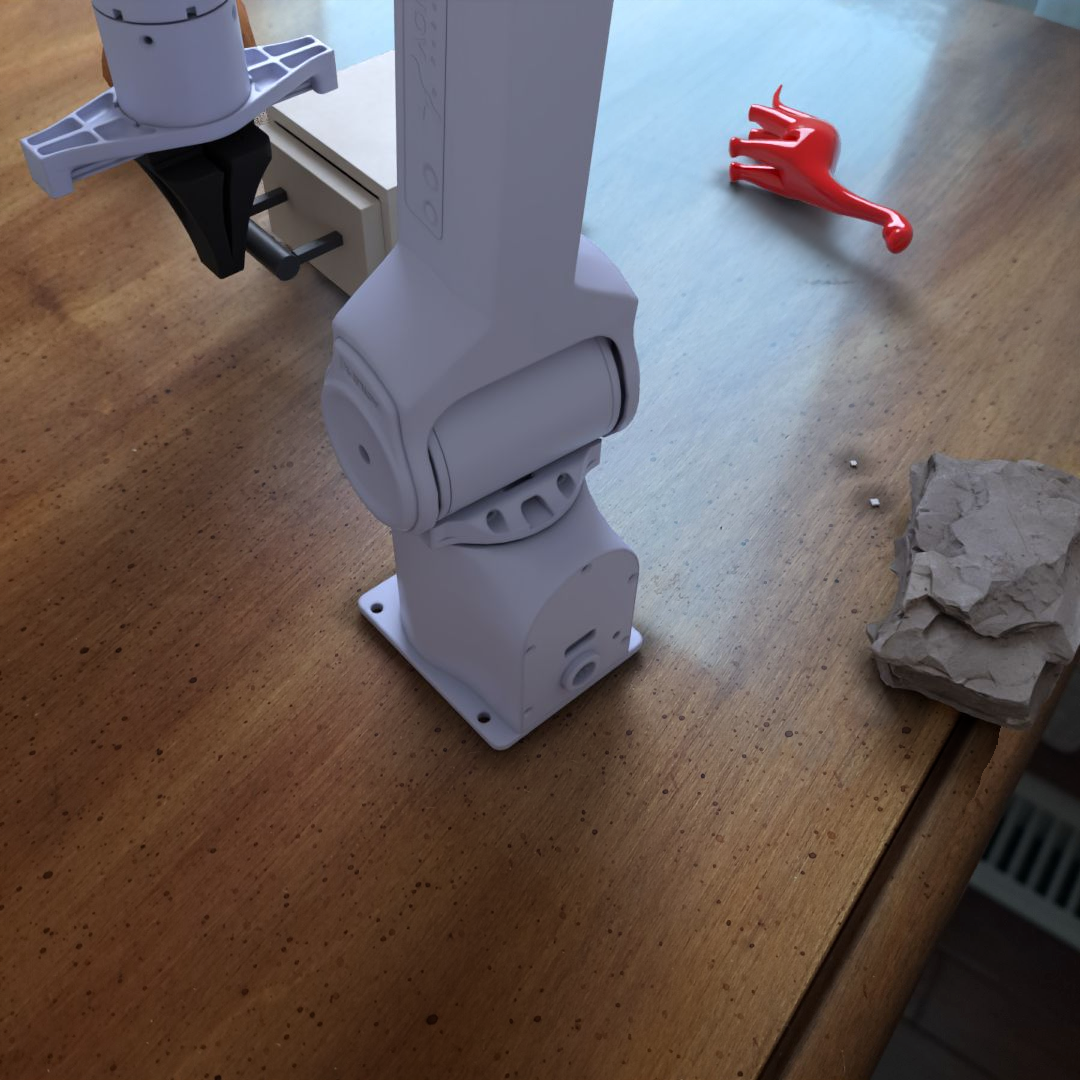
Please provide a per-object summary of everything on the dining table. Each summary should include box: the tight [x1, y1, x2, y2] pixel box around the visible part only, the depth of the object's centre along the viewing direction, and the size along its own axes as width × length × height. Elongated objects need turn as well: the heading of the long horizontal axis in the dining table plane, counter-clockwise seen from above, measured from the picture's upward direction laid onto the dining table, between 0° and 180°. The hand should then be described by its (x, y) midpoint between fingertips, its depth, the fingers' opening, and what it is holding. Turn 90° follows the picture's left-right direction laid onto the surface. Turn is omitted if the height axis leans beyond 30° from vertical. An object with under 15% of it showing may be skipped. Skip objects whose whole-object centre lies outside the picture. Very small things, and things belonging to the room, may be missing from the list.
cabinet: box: [265, 48, 398, 257], centre depth 65 cm, size 13×11×8 cm
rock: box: [865, 451, 1080, 731], centre depth 50 cm, size 14×9×4 cm
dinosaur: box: [728, 84, 914, 255], centre depth 70 cm, size 4×15×12 cm
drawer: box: [245, 121, 386, 298], centre depth 63 cm, size 16×9×6 cm, turn 131°
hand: (222, 265), depth 59 cm, fingers closed
